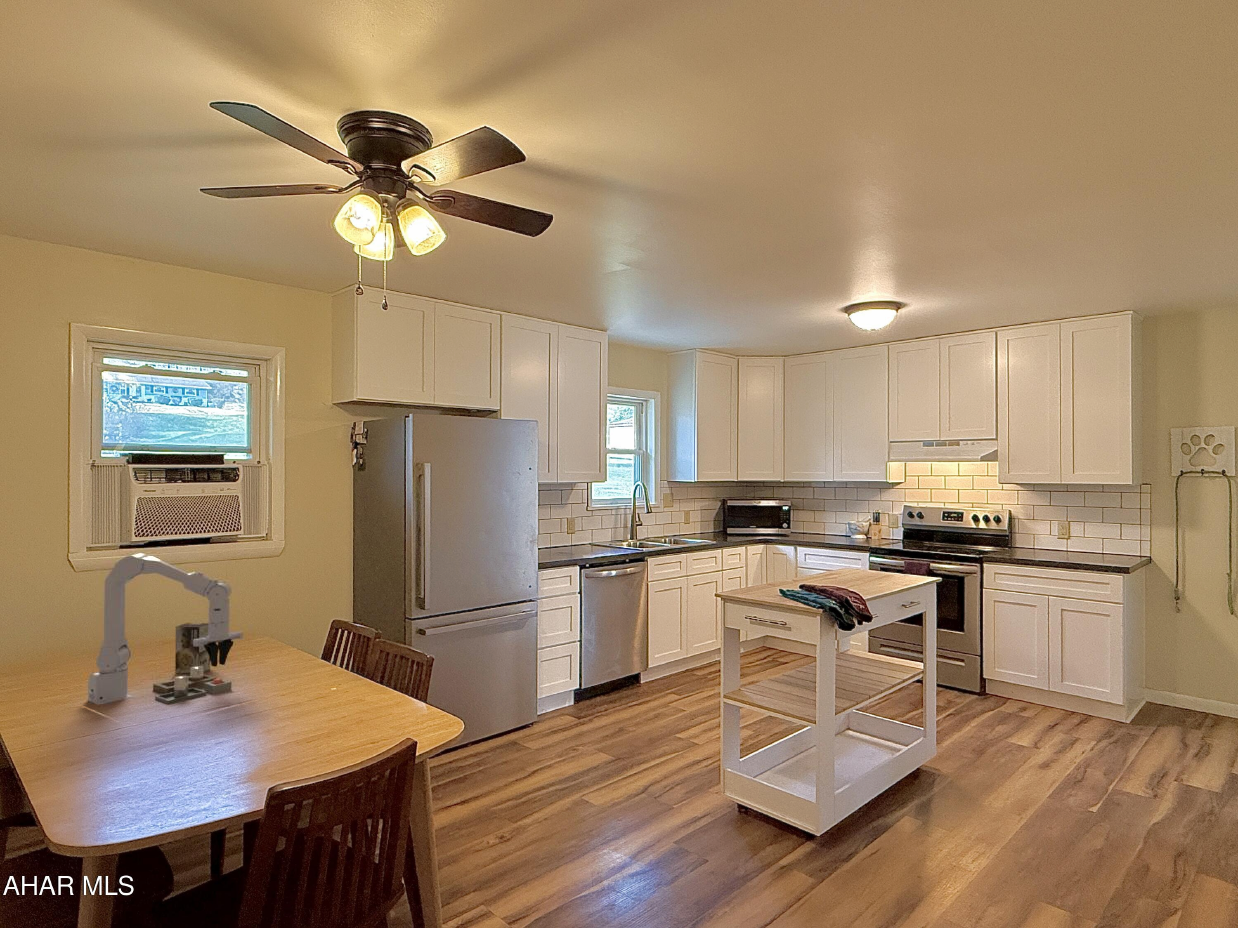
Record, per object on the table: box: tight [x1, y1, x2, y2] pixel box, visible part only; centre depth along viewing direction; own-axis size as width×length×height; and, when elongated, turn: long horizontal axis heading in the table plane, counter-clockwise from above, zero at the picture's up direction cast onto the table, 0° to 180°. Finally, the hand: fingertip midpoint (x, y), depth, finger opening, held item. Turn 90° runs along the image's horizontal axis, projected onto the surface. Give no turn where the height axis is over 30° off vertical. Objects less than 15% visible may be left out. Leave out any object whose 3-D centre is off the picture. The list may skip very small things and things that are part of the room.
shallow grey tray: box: [154, 688, 207, 705], centre depth 222 cm, size 11×8×2 cm
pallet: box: [152, 673, 218, 695], centre depth 232 cm, size 15×9×2 cm, turn 146°
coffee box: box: [174, 622, 211, 674], centre depth 254 cm, size 9×6×16 cm
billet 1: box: [173, 675, 189, 699], centre depth 222 cm, size 4×4×6 cm
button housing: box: [203, 678, 233, 695], centre depth 229 cm, size 6×6×3 cm
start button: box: [214, 678, 223, 684], centre depth 229 cm, size 2×2×2 cm
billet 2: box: [189, 666, 204, 682], centre depth 235 cm, size 4×4×6 cm
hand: (218, 665), depth 229 cm, fingers closed
